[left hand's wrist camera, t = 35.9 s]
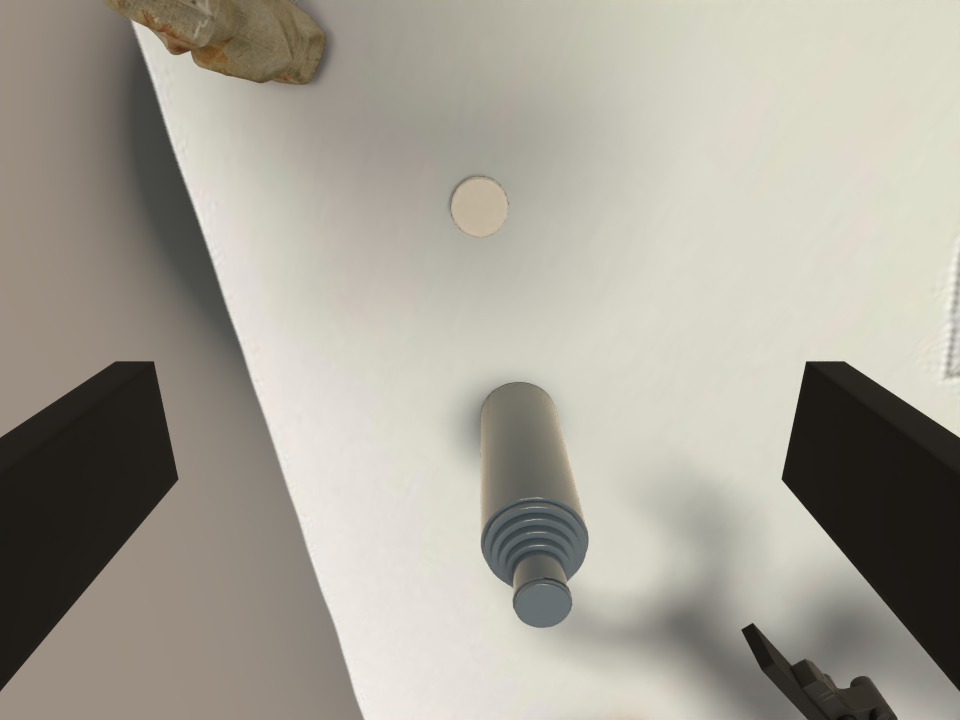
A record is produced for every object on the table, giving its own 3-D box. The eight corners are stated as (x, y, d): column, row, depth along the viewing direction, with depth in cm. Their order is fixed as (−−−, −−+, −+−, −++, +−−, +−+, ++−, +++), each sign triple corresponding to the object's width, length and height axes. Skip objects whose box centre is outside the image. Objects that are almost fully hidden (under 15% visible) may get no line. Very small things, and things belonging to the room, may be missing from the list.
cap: (518, 196, 45) (520, 198, 43) (488, 244, 46) (488, 248, 44) (470, 164, 44) (470, 166, 42) (440, 214, 45) (439, 217, 44)
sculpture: (244, -38, 39) (113, -126, 25) (346, 25, 40) (275, -25, 26) (211, 50, 41) (72, 14, 27) (310, 108, 42) (226, 102, 28)
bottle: (547, 454, 52) (588, 660, 33) (474, 444, 52) (471, 645, 32) (563, 388, 50) (618, 565, 30) (487, 376, 50) (492, 547, 30)
